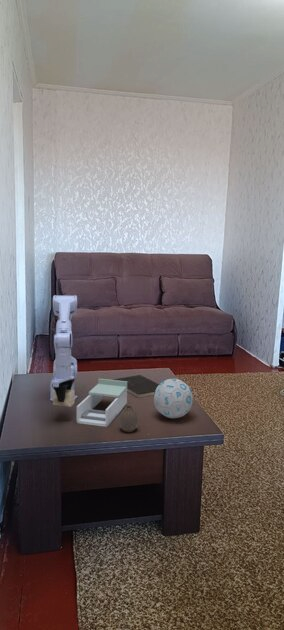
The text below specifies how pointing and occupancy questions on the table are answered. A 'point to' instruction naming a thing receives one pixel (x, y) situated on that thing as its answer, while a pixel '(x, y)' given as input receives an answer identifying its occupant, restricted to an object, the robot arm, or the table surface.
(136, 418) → the vase
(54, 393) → the tan rectangular block
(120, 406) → the housing
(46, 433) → the table surface
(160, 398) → the puzzle ball
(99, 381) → the lid
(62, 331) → the robot arm
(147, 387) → the hardcover book
